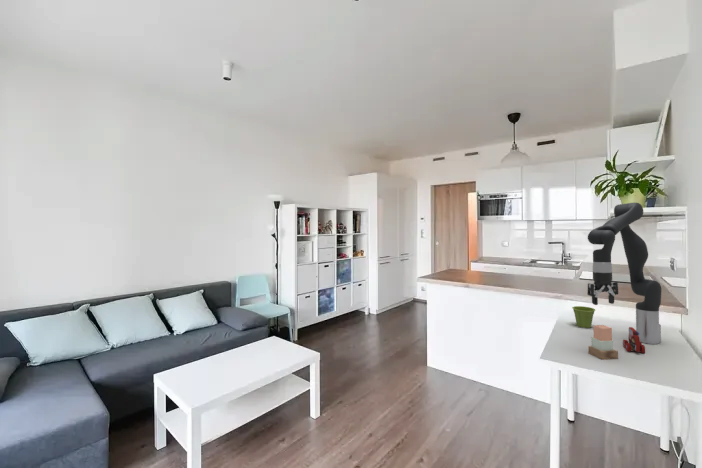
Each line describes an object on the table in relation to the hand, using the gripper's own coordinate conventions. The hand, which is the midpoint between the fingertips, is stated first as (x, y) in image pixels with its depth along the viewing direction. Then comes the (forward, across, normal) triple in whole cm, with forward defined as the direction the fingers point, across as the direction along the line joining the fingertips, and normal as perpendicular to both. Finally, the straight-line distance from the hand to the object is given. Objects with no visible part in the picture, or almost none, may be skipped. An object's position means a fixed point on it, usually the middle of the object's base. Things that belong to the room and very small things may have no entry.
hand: (603, 303), depth 161 cm
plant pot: (+25, -24, -40) cm, 53 cm away
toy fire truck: (+25, -17, -2) cm, 31 cm away
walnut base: (+25, +3, +2) cm, 25 cm away
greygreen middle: (+21, +3, +2) cm, 21 cm away
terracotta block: (+16, +3, +2) cm, 17 cm away
